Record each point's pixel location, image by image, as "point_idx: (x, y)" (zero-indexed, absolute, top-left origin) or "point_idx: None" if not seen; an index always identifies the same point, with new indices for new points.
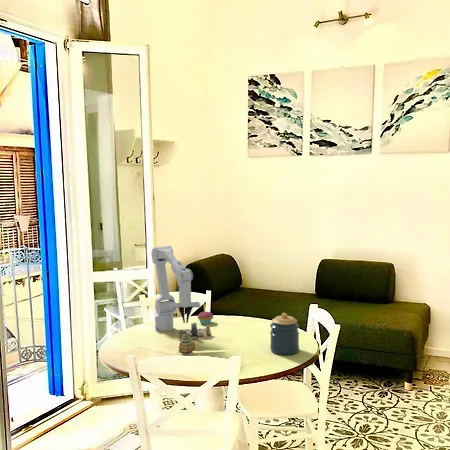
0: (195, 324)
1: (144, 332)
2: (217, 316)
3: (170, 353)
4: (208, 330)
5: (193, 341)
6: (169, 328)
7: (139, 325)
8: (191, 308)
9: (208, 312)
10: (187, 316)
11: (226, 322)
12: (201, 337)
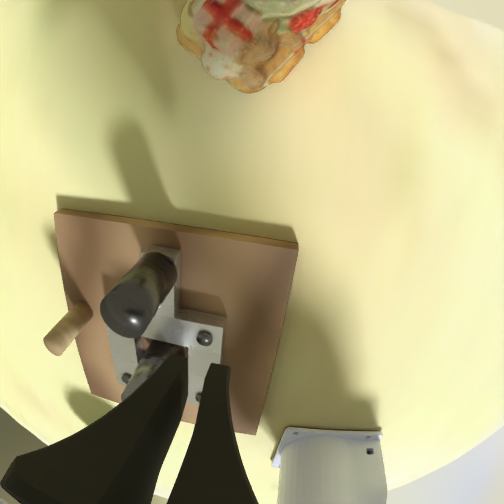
0: (127, 389)
1: (421, 440)
2: None
3: (405, 29)
4: (62, 318)
5: (184, 7)
6: (309, 448)
7: (396, 487)
8: (15, 498)
9: None
10: (136, 416)
11: (54, 420)
12: (118, 274)
